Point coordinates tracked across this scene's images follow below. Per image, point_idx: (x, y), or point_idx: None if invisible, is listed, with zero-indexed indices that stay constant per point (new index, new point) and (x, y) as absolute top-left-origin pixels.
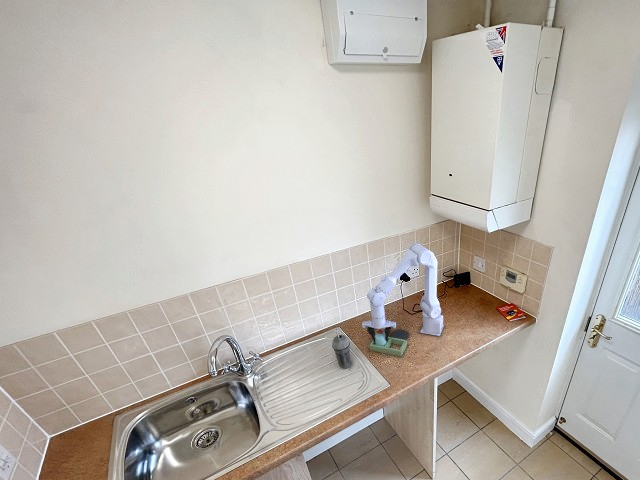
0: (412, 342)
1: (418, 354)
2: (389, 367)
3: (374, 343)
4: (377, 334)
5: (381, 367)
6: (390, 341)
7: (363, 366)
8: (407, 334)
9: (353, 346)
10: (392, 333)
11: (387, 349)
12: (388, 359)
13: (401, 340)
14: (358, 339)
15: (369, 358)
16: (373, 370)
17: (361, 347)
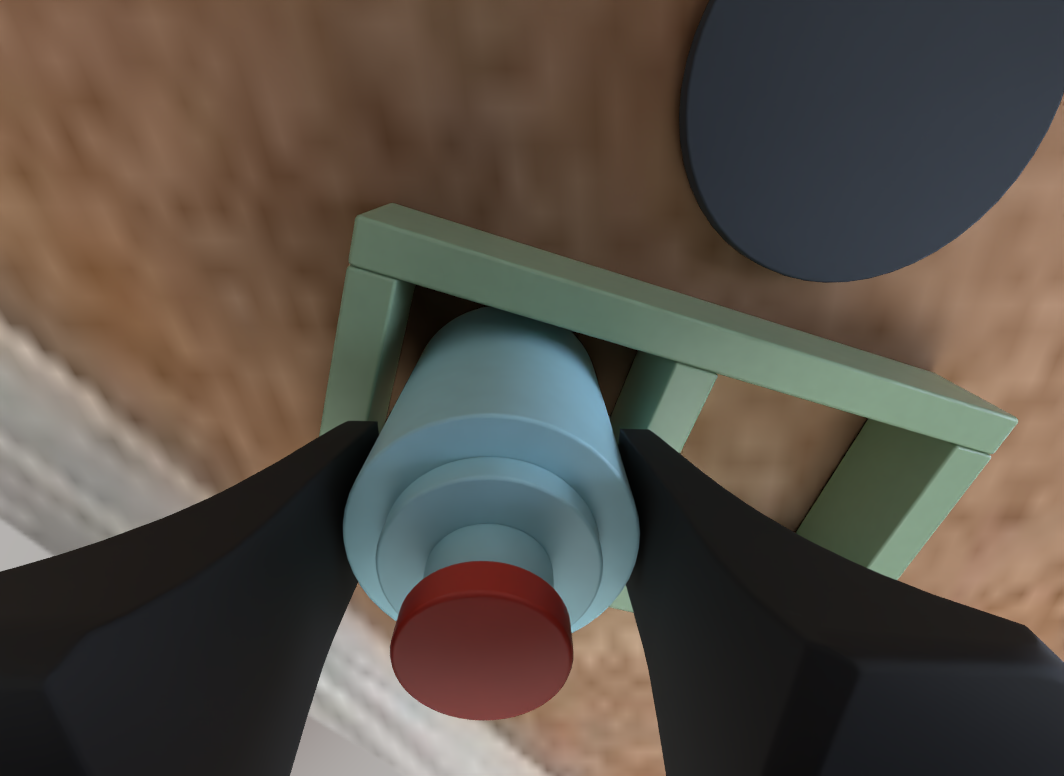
0: (1044, 307)
1: (1030, 551)
2: (637, 715)
3: (379, 414)
4: (414, 580)
5: (549, 716)
6: (685, 429)
7: (345, 707)
8: (1052, 78)
9: (38, 398)
10: (717, 30)
11: (629, 603)
12: (625, 623)
13: (911, 428)
14: (20, 208)
15: (380, 611)
16: (469, 745)
17: (184, 421)
